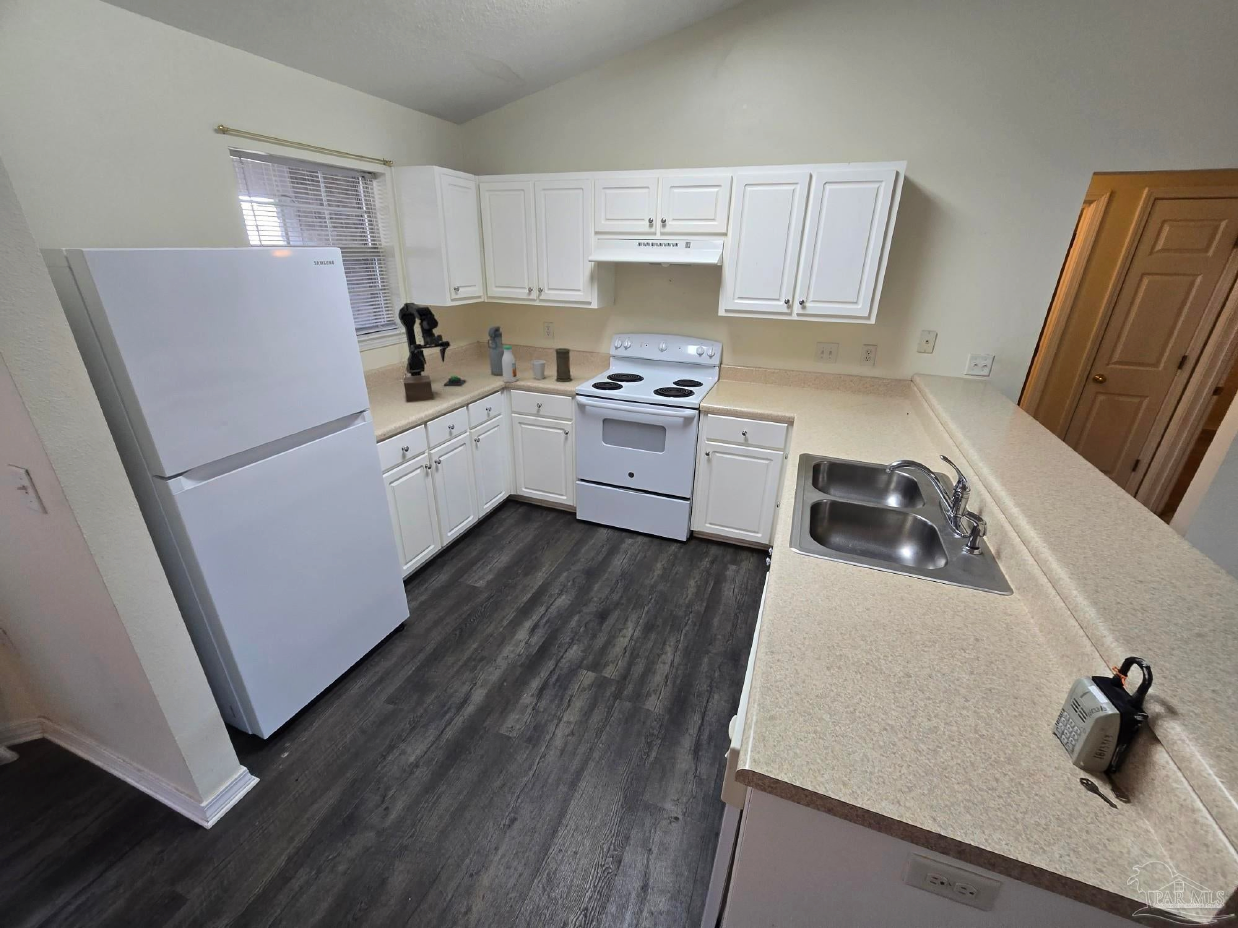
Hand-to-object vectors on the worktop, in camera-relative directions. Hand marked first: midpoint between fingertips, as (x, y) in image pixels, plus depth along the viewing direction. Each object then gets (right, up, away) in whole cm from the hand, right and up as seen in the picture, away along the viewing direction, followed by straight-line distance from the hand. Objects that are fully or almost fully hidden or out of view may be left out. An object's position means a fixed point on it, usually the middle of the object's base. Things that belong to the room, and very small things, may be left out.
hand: (434, 363), depth 262 cm
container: (+62, -3, +37) cm, 73 cm away
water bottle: (+21, +3, +51) cm, 55 cm away
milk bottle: (+31, -4, +35) cm, 47 cm away
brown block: (-8, -18, +1) cm, 19 cm away
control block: (+2, -6, +28) cm, 29 cm away
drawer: (-11, -14, +7) cm, 19 cm away
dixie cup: (+47, -1, +41) cm, 63 cm away
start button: (+2, -4, +27) cm, 27 cm away
